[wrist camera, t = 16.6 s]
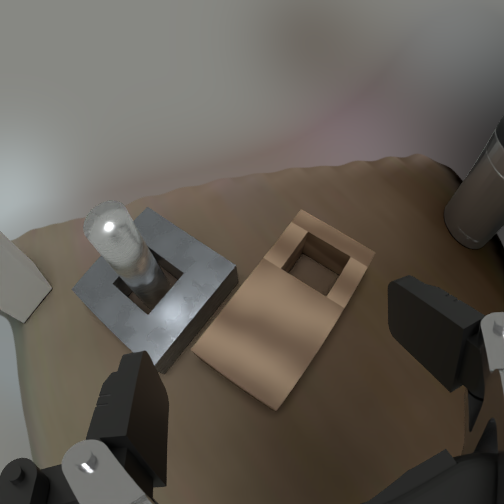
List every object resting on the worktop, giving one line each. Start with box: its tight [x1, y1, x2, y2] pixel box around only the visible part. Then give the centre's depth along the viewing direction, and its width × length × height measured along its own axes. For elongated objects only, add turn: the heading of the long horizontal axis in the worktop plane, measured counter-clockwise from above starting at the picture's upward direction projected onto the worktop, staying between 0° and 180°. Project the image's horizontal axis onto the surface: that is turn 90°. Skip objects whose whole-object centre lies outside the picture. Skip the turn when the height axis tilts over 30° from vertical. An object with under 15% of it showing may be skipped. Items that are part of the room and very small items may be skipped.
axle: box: [83, 201, 172, 310], centre depth 30 cm, size 4×4×16 cm
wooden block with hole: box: [191, 210, 375, 411], centre depth 33 cm, size 20×10×5 cm, turn 144°
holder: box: [72, 207, 238, 374], centre depth 35 cm, size 14×14×4 cm
